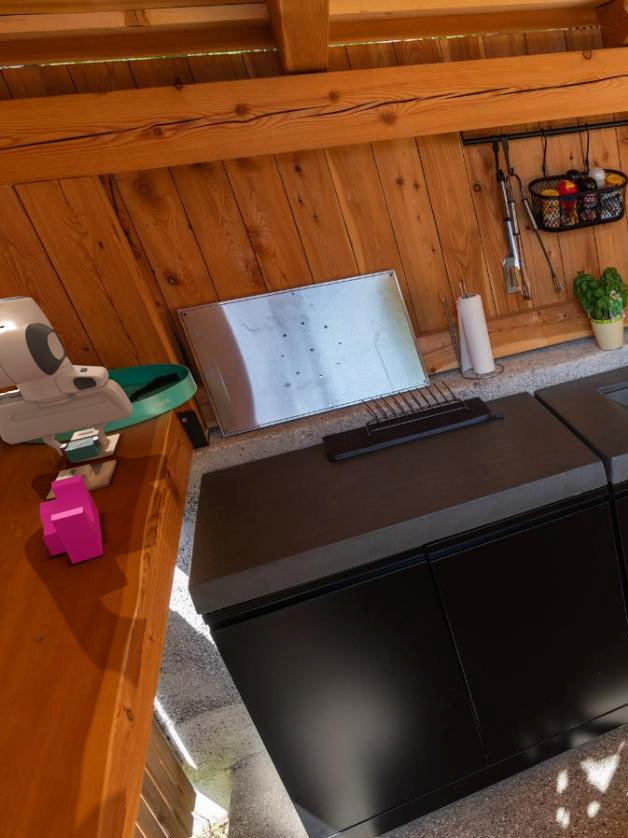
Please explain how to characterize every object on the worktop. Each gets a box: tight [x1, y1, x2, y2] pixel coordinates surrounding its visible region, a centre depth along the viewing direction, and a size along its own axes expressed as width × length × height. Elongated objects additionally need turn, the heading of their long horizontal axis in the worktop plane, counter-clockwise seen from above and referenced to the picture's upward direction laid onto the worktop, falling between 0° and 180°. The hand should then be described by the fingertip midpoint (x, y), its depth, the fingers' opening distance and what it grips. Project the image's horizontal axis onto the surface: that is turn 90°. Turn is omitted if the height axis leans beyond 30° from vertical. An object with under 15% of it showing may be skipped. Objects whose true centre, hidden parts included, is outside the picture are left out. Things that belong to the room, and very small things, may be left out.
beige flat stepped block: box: [70, 427, 121, 463], centre depth 149 cm, size 9×11×3 cm
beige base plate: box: [45, 459, 117, 501], centre depth 137 cm, size 9×11×3 cm
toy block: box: [39, 475, 104, 565], centre depth 117 cm, size 15×6×8 cm, turn 37°
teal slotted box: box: [65, 436, 102, 463], centre depth 147 cm, size 4×4×3 cm
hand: (84, 449), depth 147 cm, fingers closed on teal slotted box, 4 cm apart
